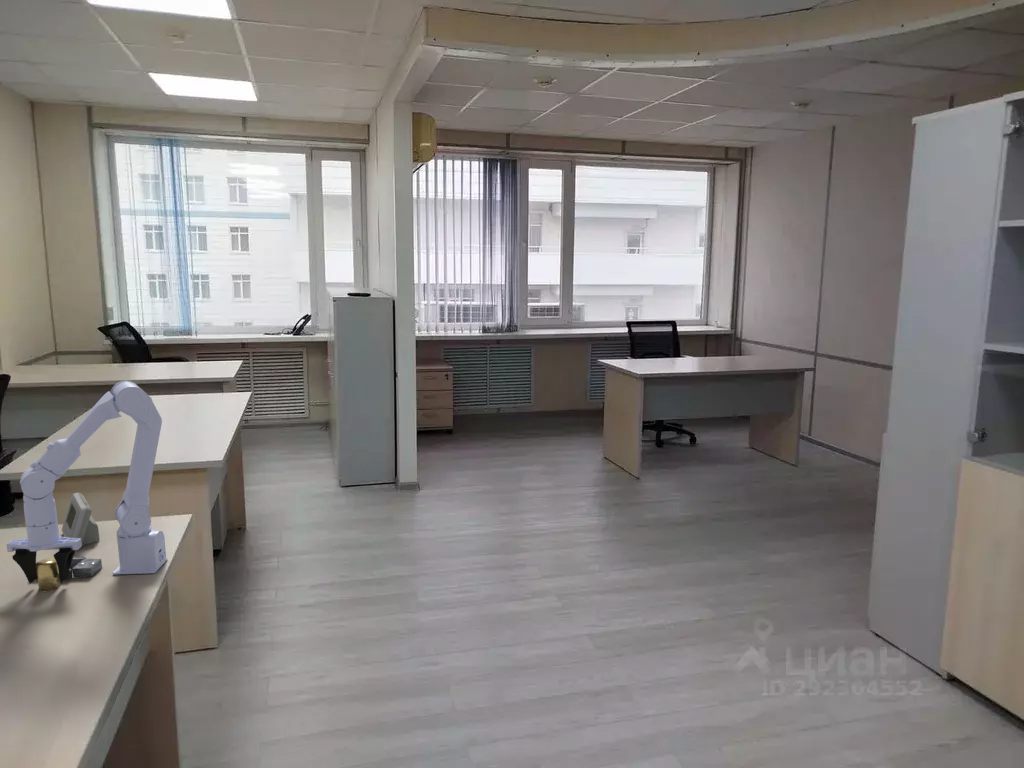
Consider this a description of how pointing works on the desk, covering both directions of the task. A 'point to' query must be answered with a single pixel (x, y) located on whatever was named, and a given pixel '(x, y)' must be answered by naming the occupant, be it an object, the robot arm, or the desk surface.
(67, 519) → the digital clock
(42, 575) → the link pin
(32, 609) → the desk surface
